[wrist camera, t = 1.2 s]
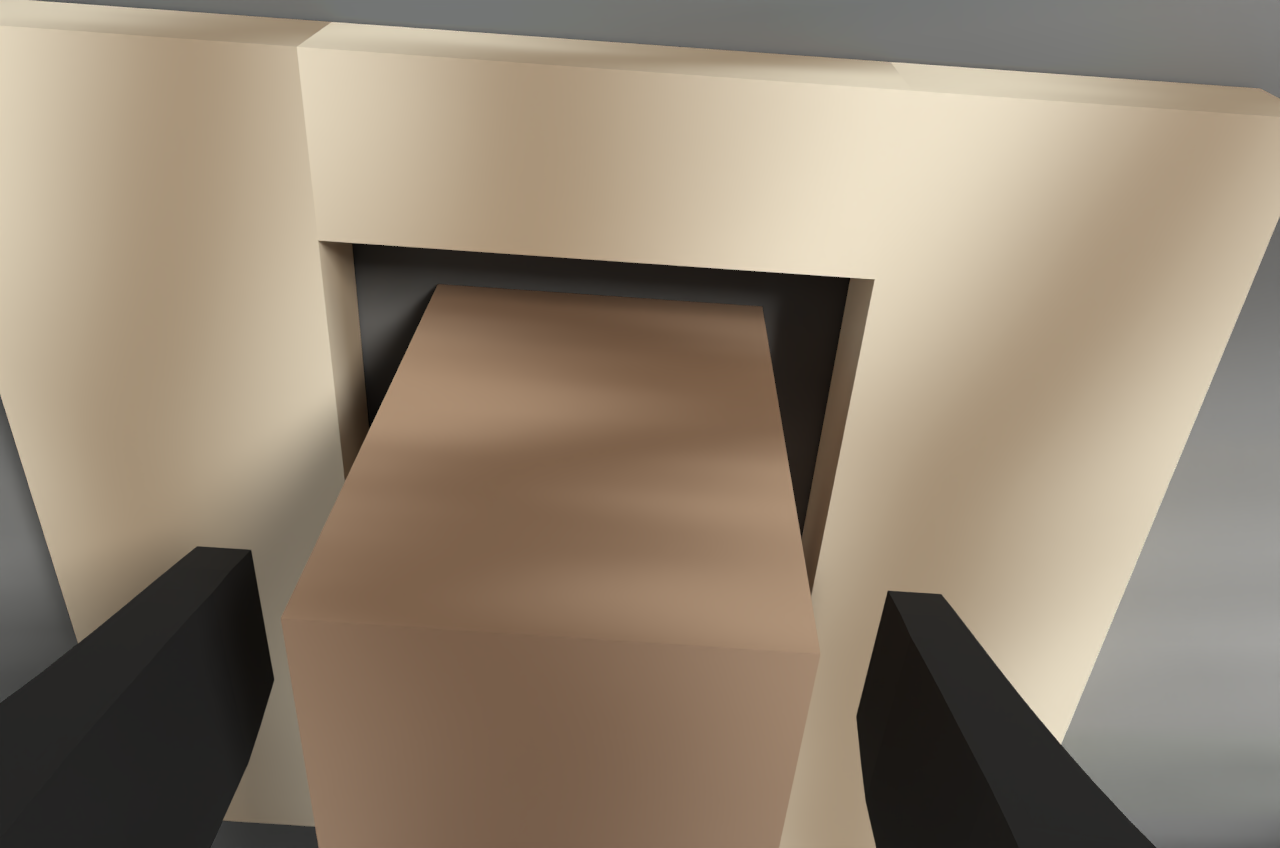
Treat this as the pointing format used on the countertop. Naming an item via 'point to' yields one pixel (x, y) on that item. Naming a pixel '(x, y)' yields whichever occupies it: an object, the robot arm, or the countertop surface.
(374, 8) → the countertop surface
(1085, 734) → the countertop surface
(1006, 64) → the countertop surface
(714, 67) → the pocket plate
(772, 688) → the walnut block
